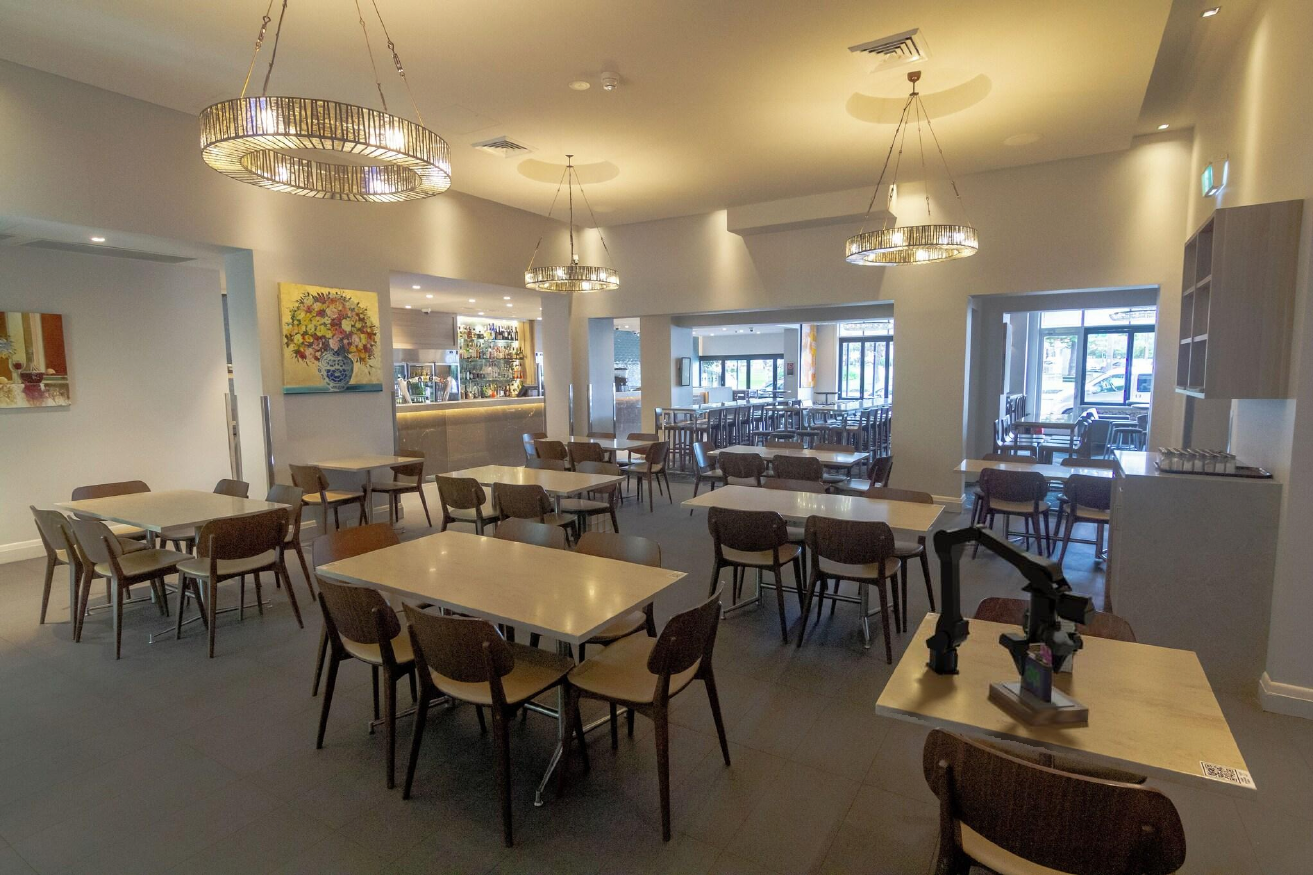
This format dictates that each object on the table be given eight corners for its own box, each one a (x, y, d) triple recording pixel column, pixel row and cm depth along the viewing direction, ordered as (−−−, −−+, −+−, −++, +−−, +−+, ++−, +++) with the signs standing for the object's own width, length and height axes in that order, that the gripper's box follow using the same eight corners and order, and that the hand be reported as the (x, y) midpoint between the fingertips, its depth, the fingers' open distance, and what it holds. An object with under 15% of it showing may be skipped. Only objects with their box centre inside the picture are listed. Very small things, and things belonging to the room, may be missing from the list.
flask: (1017, 685, 165) (1020, 644, 164) (1028, 684, 165) (1031, 643, 164) (1044, 703, 156) (1047, 660, 155) (1055, 702, 156) (1058, 659, 155)
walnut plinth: (1030, 725, 152) (1031, 711, 152) (988, 694, 167) (989, 681, 167) (1087, 720, 154) (1088, 707, 154) (1041, 690, 169) (1042, 678, 169)
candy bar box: (1038, 654, 191) (1041, 600, 190) (1057, 656, 190) (1060, 601, 189) (1053, 671, 180) (1057, 614, 179) (1073, 673, 179) (1077, 615, 178)
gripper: (1031, 627, 149) (1027, 692, 151) (1104, 623, 152) (1099, 688, 153) (999, 610, 160) (995, 671, 162) (1067, 606, 163) (1063, 667, 164)
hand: (1038, 674), depth 160 cm, fingers open, 9 cm apart
